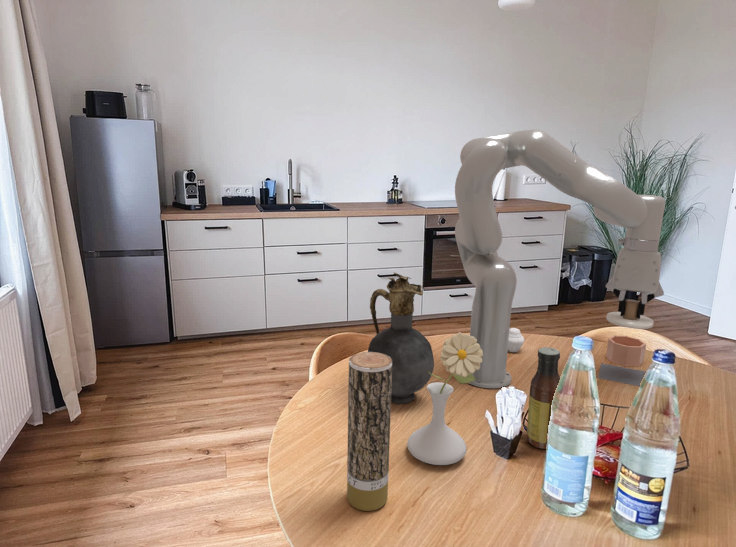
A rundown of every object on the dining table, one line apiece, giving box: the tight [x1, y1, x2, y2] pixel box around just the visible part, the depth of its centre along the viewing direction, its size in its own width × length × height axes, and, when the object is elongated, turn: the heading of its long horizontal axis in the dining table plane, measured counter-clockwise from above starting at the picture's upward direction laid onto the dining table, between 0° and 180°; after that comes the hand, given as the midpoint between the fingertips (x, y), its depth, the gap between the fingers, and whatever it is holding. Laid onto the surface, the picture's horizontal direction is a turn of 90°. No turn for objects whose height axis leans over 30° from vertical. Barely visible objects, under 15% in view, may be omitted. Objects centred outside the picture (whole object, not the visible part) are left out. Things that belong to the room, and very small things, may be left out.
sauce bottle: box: [526, 346, 561, 450], centre depth 104 cm, size 6×6×20 cm
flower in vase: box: [406, 332, 483, 466], centre depth 99 cm, size 13×11×25 cm
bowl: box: [605, 335, 647, 367], centre depth 148 cm, size 9×9×6 cm
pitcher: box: [367, 271, 435, 405], centre depth 123 cm, size 11×19×30 cm, turn 37°
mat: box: [597, 362, 647, 387], centre depth 139 cm, size 11×11×1 cm
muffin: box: [507, 327, 525, 353], centre depth 154 cm, size 6×6×7 cm
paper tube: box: [346, 351, 392, 512], centre depth 85 cm, size 7×7×25 cm
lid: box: [605, 298, 654, 330], centre depth 135 cm, size 11×11×6 cm
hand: (630, 315), depth 135 cm, fingers closed on lid, 3 cm apart
